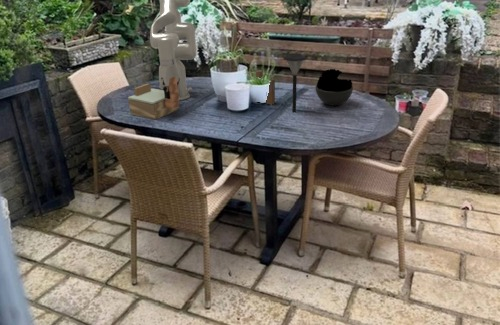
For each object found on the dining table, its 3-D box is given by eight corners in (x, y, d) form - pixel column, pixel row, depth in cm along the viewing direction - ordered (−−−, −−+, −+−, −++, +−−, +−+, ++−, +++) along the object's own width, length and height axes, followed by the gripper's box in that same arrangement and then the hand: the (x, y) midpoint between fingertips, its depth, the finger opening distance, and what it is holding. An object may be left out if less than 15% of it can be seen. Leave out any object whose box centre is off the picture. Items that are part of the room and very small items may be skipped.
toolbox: (154, 104, 254) (152, 90, 250) (178, 109, 245) (176, 95, 241) (130, 114, 240) (128, 99, 237) (155, 119, 231) (153, 105, 228)
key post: (172, 104, 237) (168, 74, 230) (179, 105, 235) (176, 76, 227) (165, 107, 234) (162, 77, 226) (172, 108, 231) (169, 78, 224)
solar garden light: (310, 112, 234) (312, 55, 221) (291, 117, 229) (292, 58, 216) (296, 106, 244) (297, 51, 231) (278, 111, 238) (278, 54, 225)
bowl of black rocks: (337, 96, 257) (339, 64, 249) (359, 106, 241) (362, 72, 233) (307, 102, 250) (308, 69, 242) (328, 112, 234) (330, 77, 225)
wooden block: (272, 105, 247) (271, 73, 239) (255, 102, 252) (254, 71, 244) (275, 103, 250) (275, 71, 242) (258, 100, 254) (257, 69, 247)
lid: (152, 90, 250) (151, 81, 248) (176, 94, 241) (175, 85, 239) (128, 99, 237) (126, 89, 234) (153, 104, 228) (151, 94, 225)
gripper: (173, 57, 231) (176, 91, 240) (150, 65, 219) (154, 100, 227) (184, 59, 228) (187, 93, 236) (161, 67, 215) (165, 103, 224)
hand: (171, 96), depth 232 cm, fingers closed on key post, 5 cm apart
